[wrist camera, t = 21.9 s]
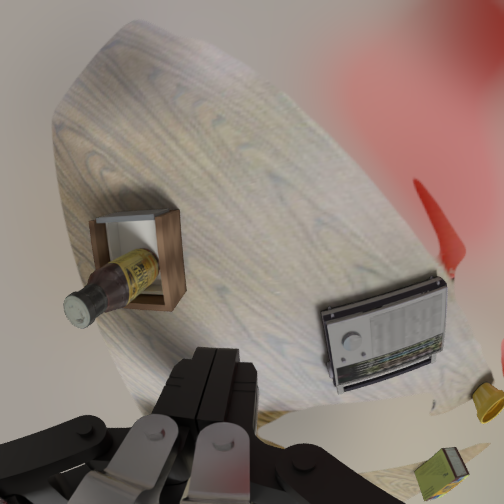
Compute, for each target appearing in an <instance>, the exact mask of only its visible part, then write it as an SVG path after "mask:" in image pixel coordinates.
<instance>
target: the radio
mask: <svg viewBox="0 0 504 504" xmlns="http://www.w3.org/2000/svg"><path fill="white" fill-rule="evenodd" d="M446 313H447V284H446V282H445V281H444V280H443V279H442V278H441V277H438V276H437V277H434V278H433V276H430V279H428V280H426V281H423V282H420V283H417V284H414V285H411V286H407V287H404V288H401V289H398V290H395V291H392V292H388V293H385V294H382V295H378V296H375V297H372V298H368V299H365V300H361V301H358V302H354V303H350V304H347V305H343V306H339V307H335V308H332V309H331V307H330V306H329V307H328V310H324V311H321V315H322V320H323V326H324V331H325V337H326V343H327V349H328V355H329V361H330V362H328V363H327V367H328V372H329V377H330V378H333V382H334V385H336V386H337V392H338V395H339V394H343V393H344V392H346V391H350V390H354V389H357V388H361V387H364V386H367V385H371V384H374V383H377V382H380V381H383V380H386V379H389V378H392V377H395V376H398V375H401V374H404V373H406V372H409V371H412V370H414V369H417V368H419V367H422V366H424V365H427V364H429V363H431V364H432V363H434V362H436V354H437V353H438V352H441V351H443V347H444V338H445V327H446ZM426 357H429V359H426V360H424V361H421V362H419V363H416V364H414V365H411V366H408V367H406V368H403V369H400V370H397V371H394V372H391V373H388V374H385V375H382V376H379V377H376V378H373V379H370V380H366V381H363V382H360V383H356V384H353V385H349V386H345V387H343V385H345V384H349V383H352V382H356V381H359V380H363V379H366V378H370V377H373V376H376V375H379V374H382V373H385V372H388V371H391V370H394V369H397V368H400V367H403V366H406V365H408V364H411V363H414V362H416V361H419V360H421V359H424V358H426Z"/></svg>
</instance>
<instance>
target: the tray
mask: <svg viewBox="0 0 504 504" xmlns="http://www.w3.org/2000/svg"><path fill="white" fill-rule="evenodd" d="M167 212H169V209H154V210H139V211H124V212H115V213H112V214H108V215H105V216H101V217H98V218H96V223H106V231H107V239H108V247H109V254H110V261H113V260H115V259H116V258H118V257H120V256H122V255H124V254H126V253H128V252H130V251H132V250H134V249H140V248H146V249H148V250H150V251H152V252H153V253H154V254H155V255H156V256H157V258H158V260H159V257H158V248H157V238H156V227H155V217H157V216H159V215H162V214H165V213H167ZM140 294H158V295H163V288H162V281H161V273H160V272H159V274H158V276H157V278H156V279H155V281H154V282H153V283H152V284H151V285H149V286H148V287H147V288H146V289H145V290H144V291H142V292H141V293H140Z"/></svg>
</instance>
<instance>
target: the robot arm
mask: <svg viewBox="0 0 504 504" xmlns="http://www.w3.org/2000/svg"><path fill="white" fill-rule="evenodd" d="M258 403H259V389H258V387H257V371H256V369H255V367H254V365H253V363H248V362H240V358H239V349H230V348H208V347H197V348H196V351H195V353H194V355H193V358H192V360H191V359H182V360H181V361H180V362H179V363H178V364H176V365H175V366H174V368H173V370H172V372H171V374H170V376H169V378H168V380H167V382H166V386H164V388H163V390H162V392H161V395H160V397H159V399H158V401H157V403H156V405H155V407H154V409H153V411H152V414H150V415H146V416H143V417H141V418H140V419H138V420H137V421H136V422H135V423H134V425H133V426H132V427H130V428H107V427H106V425H105V423H104V422H103V421H102V420H101V419H100V418H98V417H96V416H92V415H83V416H79V417H77V418H74V419H72V420H69V421H67V422H64V423H61V424H59V425H57V426H54V427H51V428H48V429H46V430H43V431H40V432H37V433H34V434H31V435H28V436H25V437H23V438H19V439H16V440H13V441H10V442H7V443H4V444H0V504H405V503H404V502H402V501H400V500H398V499H397V498H395V497H393V496H392V495H390V494H388V493H387V492H385V491H384V490H382V489H380V488H379V487H377V486H376V485H374V484H372V483H371V482H369V481H368V480H366V479H365V478H363V477H362V476H360V475H359V474H357V473H356V472H354V471H353V470H352V469H350V468H349V467H347V466H346V465H345V464H343V463H342V462H340V461H339V460H338V459H336V458H335V457H334V456H332V455H331V454H329V453H328V452H327V451H325V450H324V449H323V448H321V447H318V446H316V445H313V444H304V443H303V444H296V445H293V446H290V447H288V448H286V449H281V448H277V447H273V446H270V445H267V444H265V443H263V442H262V441H261V440H259V439H258V438H257V436H256V429H257V416H258ZM83 463H85V464H84V465H82V466H79V467H77V468H74V469H72V470H69V471H67V472H64V473H60V472H63V471H66V470H68V469H71V468H73V467H76V466H78V465H81V464H83Z"/></svg>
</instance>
